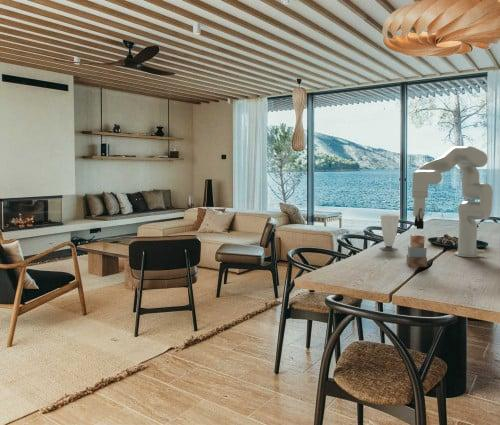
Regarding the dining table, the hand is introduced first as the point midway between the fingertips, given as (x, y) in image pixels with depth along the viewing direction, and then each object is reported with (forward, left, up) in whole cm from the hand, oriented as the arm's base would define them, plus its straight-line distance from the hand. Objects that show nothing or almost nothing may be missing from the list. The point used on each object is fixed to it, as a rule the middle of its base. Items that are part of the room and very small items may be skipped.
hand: (418, 227), depth 236 cm
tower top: (0, 0, -15) cm, 15 cm away
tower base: (0, 0, -20) cm, 20 cm away
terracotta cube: (+1, 0, -10) cm, 10 cm away
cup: (+12, -43, -20) cm, 49 cm away
